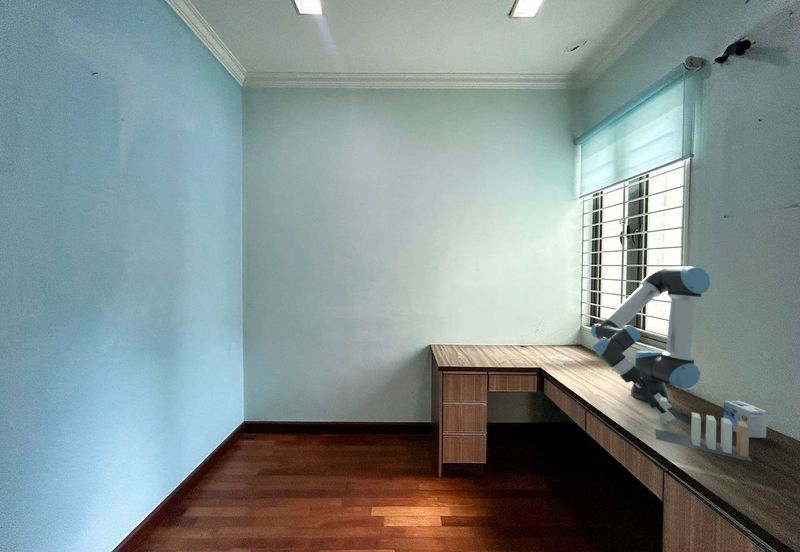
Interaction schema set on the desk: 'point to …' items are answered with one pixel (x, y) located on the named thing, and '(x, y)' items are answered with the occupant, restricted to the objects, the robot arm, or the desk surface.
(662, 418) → the domino
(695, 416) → the domino
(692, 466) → the desk surface
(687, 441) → the domino mat
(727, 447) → the domino
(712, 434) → the domino
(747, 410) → the light bulb box
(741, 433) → the end domino
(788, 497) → the desk surface
